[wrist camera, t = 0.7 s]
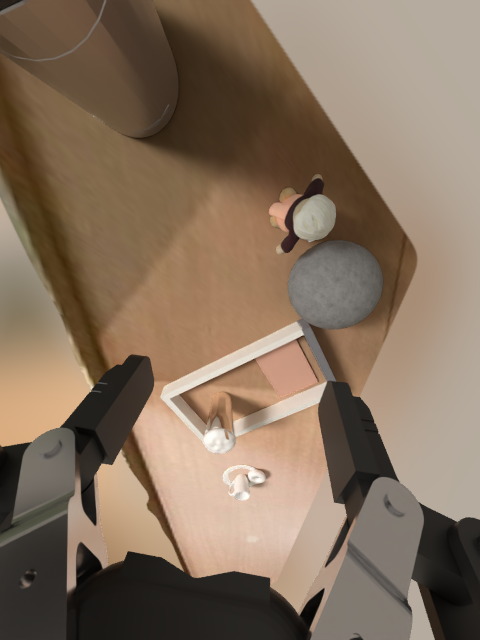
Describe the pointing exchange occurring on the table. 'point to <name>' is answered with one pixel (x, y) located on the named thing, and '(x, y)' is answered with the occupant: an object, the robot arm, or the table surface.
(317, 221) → the grandmother figurine
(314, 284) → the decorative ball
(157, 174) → the table surface
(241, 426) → the tray
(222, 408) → the milkshake
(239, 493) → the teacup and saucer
